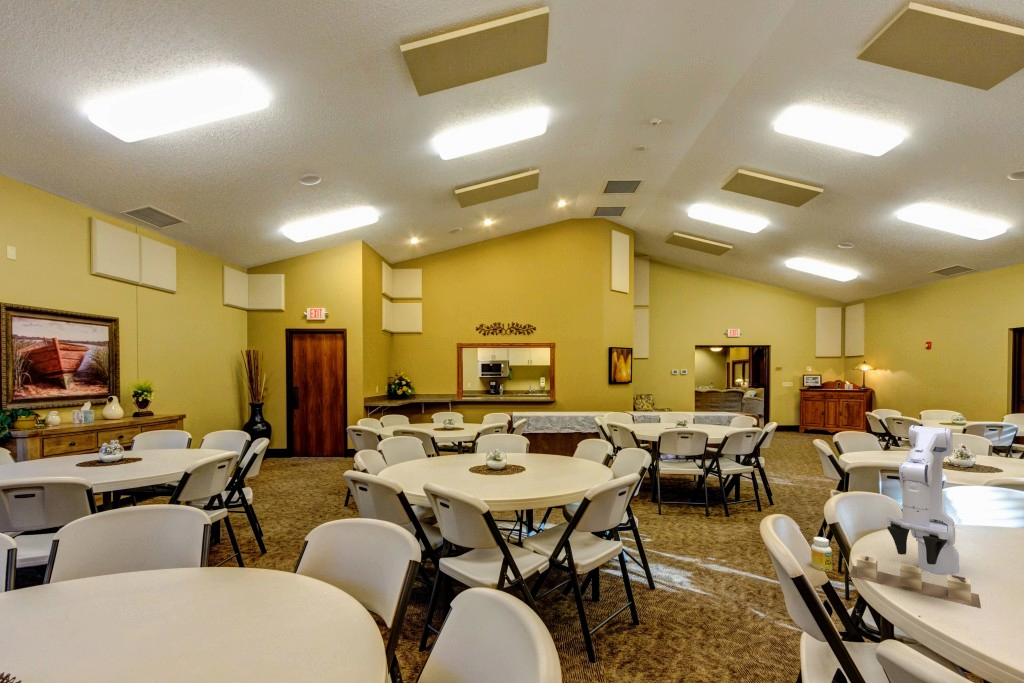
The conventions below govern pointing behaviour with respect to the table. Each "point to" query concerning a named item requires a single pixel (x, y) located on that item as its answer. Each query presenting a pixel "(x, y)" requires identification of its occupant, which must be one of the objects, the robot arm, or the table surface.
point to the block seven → (959, 588)
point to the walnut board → (925, 590)
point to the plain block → (910, 577)
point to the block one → (867, 566)
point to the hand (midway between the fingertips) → (916, 558)
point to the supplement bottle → (821, 554)
